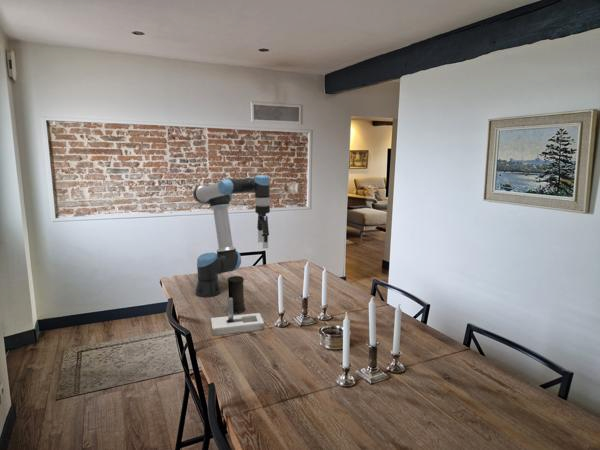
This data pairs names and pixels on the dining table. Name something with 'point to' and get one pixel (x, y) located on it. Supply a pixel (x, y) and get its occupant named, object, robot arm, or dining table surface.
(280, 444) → the dining table surface
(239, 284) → the container
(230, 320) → the peg
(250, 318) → the keyhole board
